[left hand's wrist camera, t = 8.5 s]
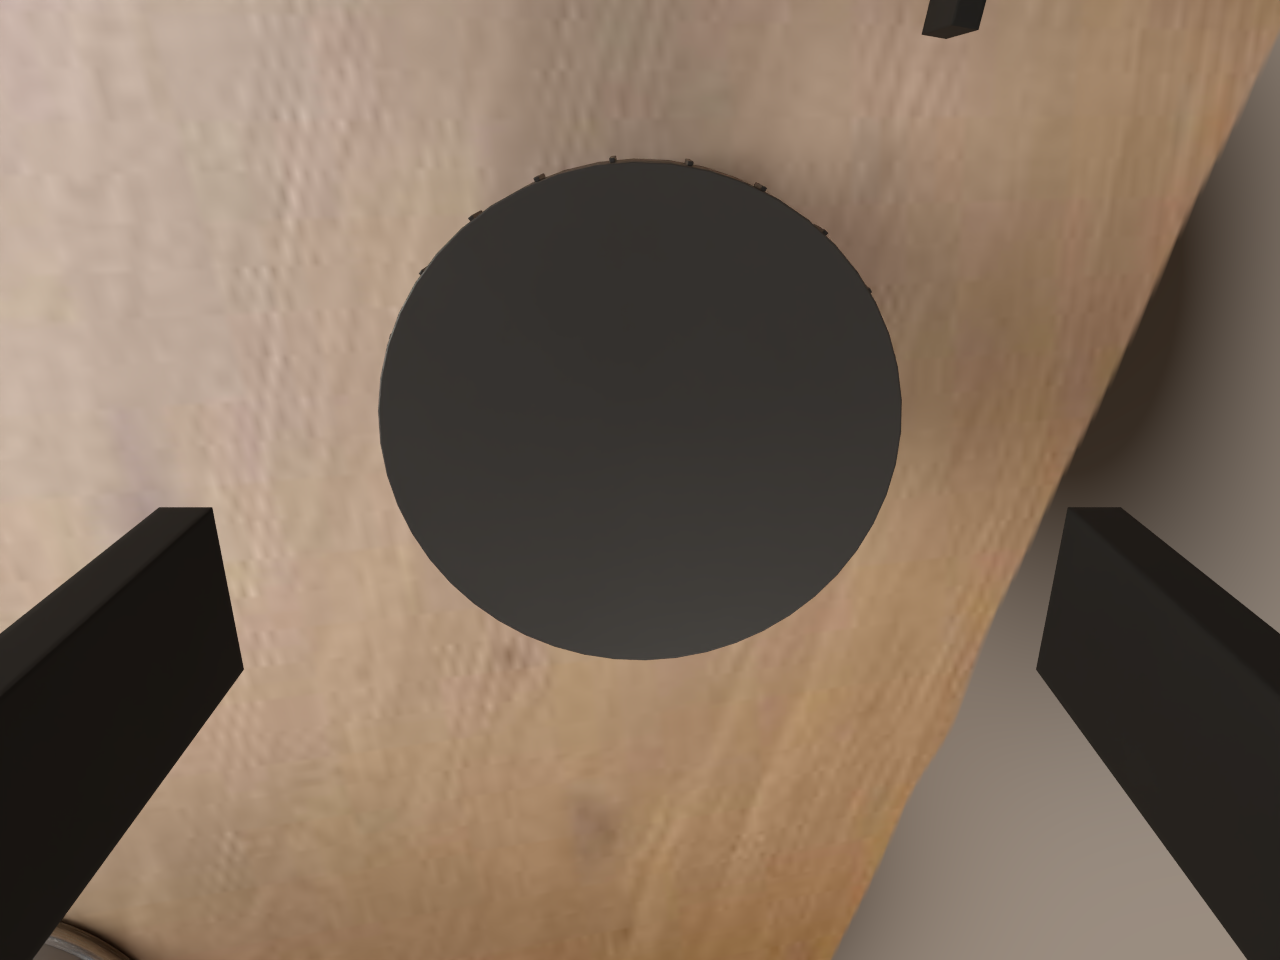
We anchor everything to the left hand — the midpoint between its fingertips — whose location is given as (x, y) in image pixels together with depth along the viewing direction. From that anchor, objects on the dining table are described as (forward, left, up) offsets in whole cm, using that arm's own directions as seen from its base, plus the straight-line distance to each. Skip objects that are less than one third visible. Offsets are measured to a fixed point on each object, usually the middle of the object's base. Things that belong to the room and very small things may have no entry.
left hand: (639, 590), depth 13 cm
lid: (0, 0, -7) cm, 7 cm away
